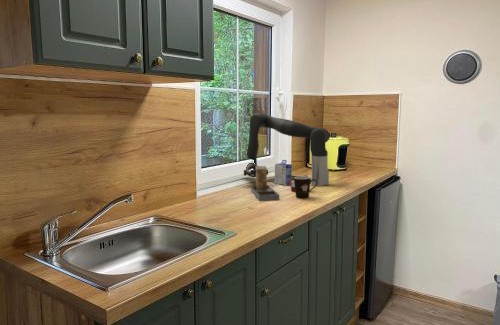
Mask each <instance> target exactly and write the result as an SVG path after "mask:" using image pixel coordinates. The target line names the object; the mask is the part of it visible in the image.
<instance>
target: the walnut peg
mask: <svg viewBox="0 0 500 325" xmlns="http://www.w3.org/2000/svg"><path fill="white" fill-rule="evenodd" d="M267 170H268V169H267V166H266V165H257V166H256V177H255V186H256V189H265V188H267V185H268V183H267V182H268V181H267V177H268V175H267Z"/></svg>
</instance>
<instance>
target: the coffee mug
mask: <svg viewBox="0 0 500 325" xmlns="http://www.w3.org/2000/svg"><path fill="white" fill-rule="evenodd" d="M307 176H308V175H306V176H305V175H301V176H294V177H293V182H294V184H295V192H294V193H295V198H296V199H302V200H303V199H308V198H310V192H311V191H312V190H314V189H315V188H316V187H318V186H317V180H315V179H313V180H314V181H316V185H313V187H312V188H311V184H312V181H313V180H312V176H308V177H307Z"/></svg>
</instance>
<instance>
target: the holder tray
mask: <svg viewBox="0 0 500 325" xmlns="http://www.w3.org/2000/svg"><path fill="white" fill-rule="evenodd" d="M250 191H251V192H252V193H253V195H254V196H255V198H257V200H258V201H260V202H262V201H265V202H266V201H278V200H280V194H279V193H278V192H277V191H276V190H275V189H274V188H273V187H271V186H270V184H267V188H265V189H256V185H251V186H250Z"/></svg>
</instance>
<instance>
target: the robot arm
mask: <svg viewBox="0 0 500 325" xmlns="http://www.w3.org/2000/svg"><path fill="white" fill-rule="evenodd" d="M260 128H267V129H273V130H275V131H276V132H277V133H279V134H282V135H285V136H289V137H294V138H303V139H308V140H309V150H310V152H311V180H313V179H315V180H317V186H316V187H318V186H319V187H325V186H328V185H329V182H330V180H329V179H330V177H329V174H330V173H329V172H330V170H329V168H328V165H329V164H328V158H329V157H328V154H329V153H328V150H327V148H326V143H328V141H329V140H330V137H331V135H330V132H329V131H328V130H327V129H326V128H323V127H315V126H311V125H306V124H303V123H300V122H297V121H295V120H290V119H286V118H280V117H275V116H271V115H269V114H266V113H264V112H256V113H253V114H251V116H250V118H249V132H248V133H249V136H248V144H247V148H248V149H246V153H247V156H248V157H247V156H246V157H247V159H250V160H252V161H253V160H254V163H255V164H254V163H249V164H248V165H247V167H246V170H244V171H243V175H244V177H245V176H246V177H247V176H248V177H252V178H256V166H258V162H257V161H258V159H257V157H258V152H259V148H260V147H259V143H260V142H259V131H260ZM268 175H269V170H268V169H267V176H268ZM311 185H312V186H315V185H316V181H314V180H313V181H312V182H311Z"/></svg>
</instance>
